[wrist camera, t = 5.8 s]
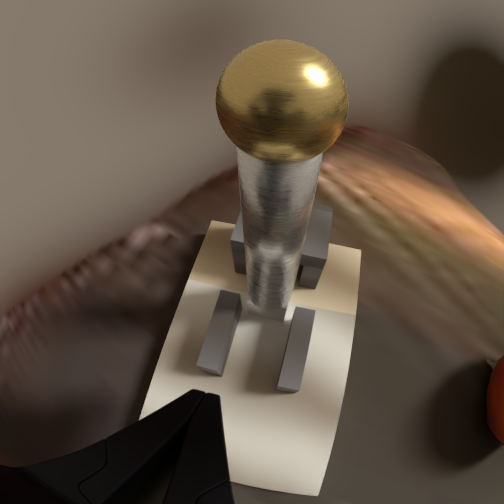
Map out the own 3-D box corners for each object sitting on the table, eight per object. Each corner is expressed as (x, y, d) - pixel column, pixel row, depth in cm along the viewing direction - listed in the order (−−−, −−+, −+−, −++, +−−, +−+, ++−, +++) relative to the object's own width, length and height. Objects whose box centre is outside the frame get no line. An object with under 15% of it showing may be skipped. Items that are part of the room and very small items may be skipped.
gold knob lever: (290, 335, 15) (364, 79, 4) (235, 323, 15) (183, 61, 4) (307, 247, 18) (350, 21, 7) (260, 238, 18) (258, 10, 7)
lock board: (312, 489, 11) (333, 515, 7) (141, 443, 13) (100, 449, 9) (354, 261, 19) (377, 217, 15) (214, 233, 21) (204, 184, 16)
